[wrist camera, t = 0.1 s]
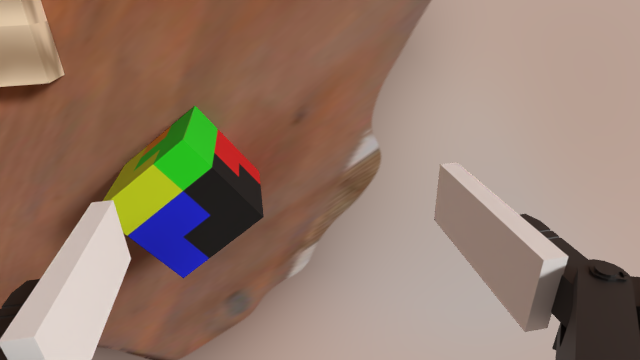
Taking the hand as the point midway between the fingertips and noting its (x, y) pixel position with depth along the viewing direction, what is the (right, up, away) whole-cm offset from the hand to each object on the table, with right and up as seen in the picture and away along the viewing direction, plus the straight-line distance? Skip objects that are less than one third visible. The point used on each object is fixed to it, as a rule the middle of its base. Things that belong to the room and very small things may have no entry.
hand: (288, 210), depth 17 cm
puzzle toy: (-13, +3, +28) cm, 31 cm away
